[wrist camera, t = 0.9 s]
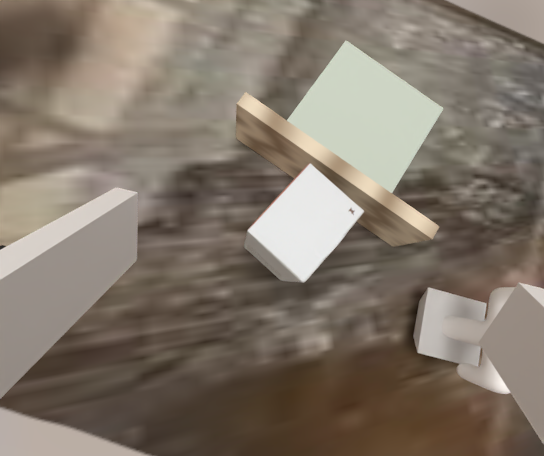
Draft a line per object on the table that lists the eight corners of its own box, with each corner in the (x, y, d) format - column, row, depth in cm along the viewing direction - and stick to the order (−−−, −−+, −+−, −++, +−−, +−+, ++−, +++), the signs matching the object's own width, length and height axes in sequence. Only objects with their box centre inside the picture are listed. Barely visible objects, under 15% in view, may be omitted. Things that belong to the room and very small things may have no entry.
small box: (285, 198, 39) (310, 159, 26) (323, 232, 39) (367, 210, 26) (241, 246, 37) (245, 230, 25) (280, 282, 37) (305, 285, 24)
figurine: (398, 355, 38) (504, 404, 23) (411, 277, 39) (518, 277, 25) (453, 369, 38) (591, 426, 23) (464, 292, 40) (599, 301, 25)
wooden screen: (236, 138, 39) (236, 103, 32) (243, 128, 40) (245, 92, 32) (392, 246, 40) (432, 239, 32) (399, 236, 40) (439, 226, 32)
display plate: (279, 133, 40) (280, 129, 39) (342, 46, 43) (345, 40, 42) (381, 204, 40) (385, 202, 39) (437, 113, 43) (443, 108, 42)
